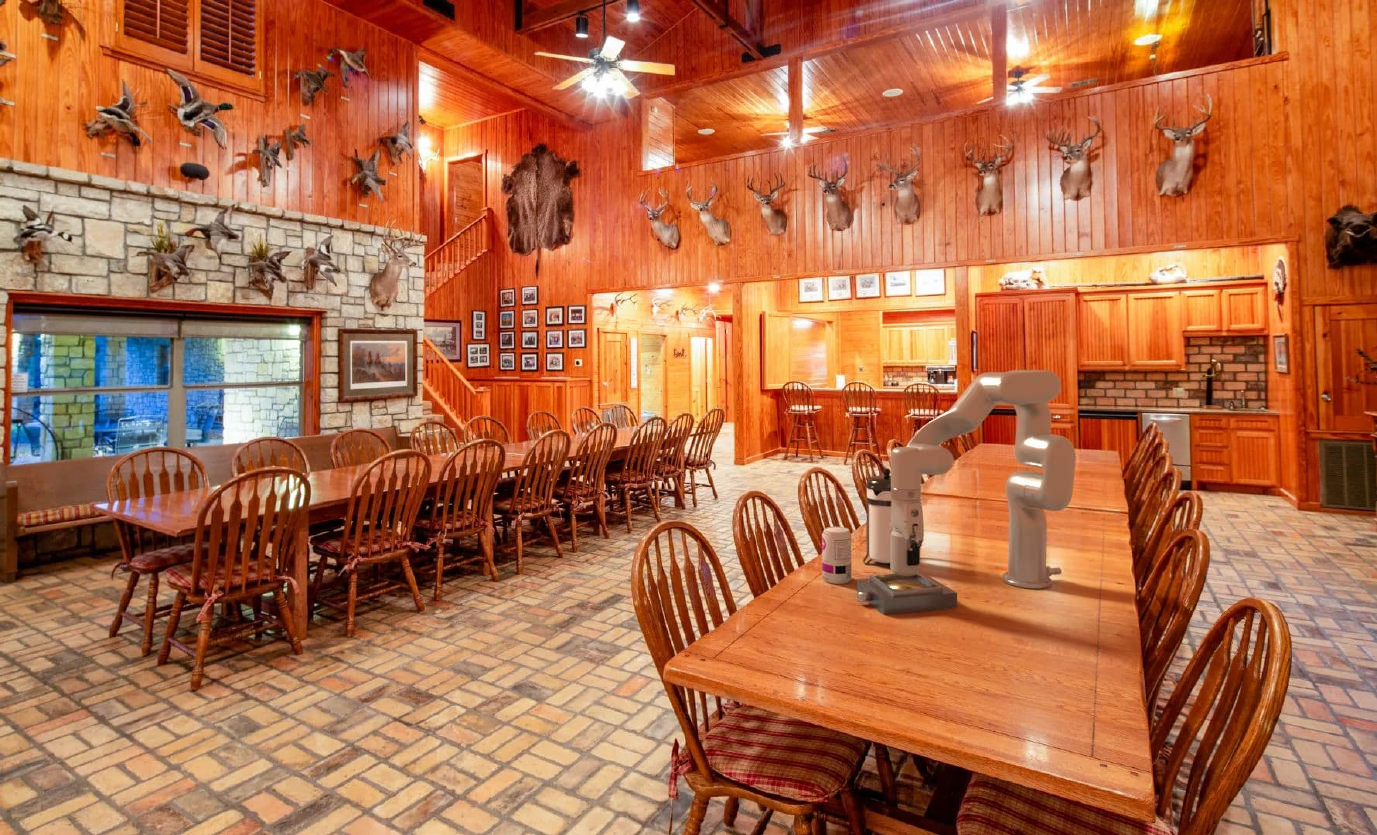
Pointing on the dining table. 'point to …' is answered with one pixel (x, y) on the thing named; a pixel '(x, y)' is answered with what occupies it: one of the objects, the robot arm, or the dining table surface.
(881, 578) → the gearbox
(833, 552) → the supplement can
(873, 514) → the coffee press
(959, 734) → the dining table surface
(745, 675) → the dining table surface
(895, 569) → the can
